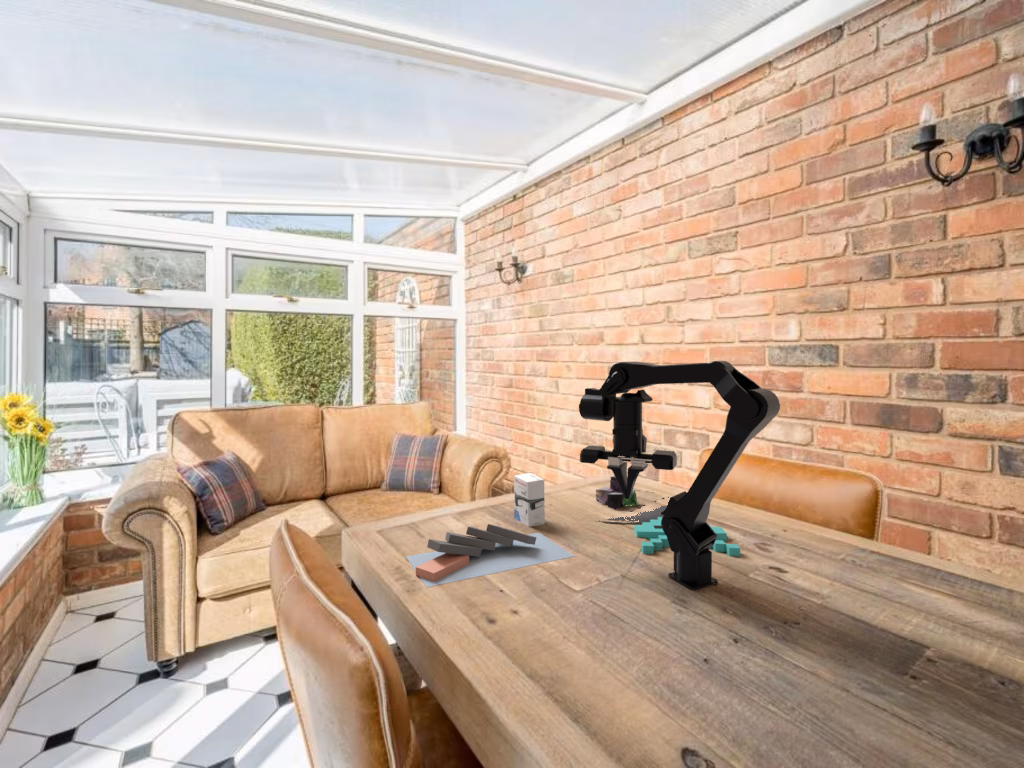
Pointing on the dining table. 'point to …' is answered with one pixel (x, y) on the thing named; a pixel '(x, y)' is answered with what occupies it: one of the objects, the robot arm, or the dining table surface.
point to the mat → (497, 559)
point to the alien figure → (660, 540)
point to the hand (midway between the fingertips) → (627, 498)
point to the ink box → (529, 499)
